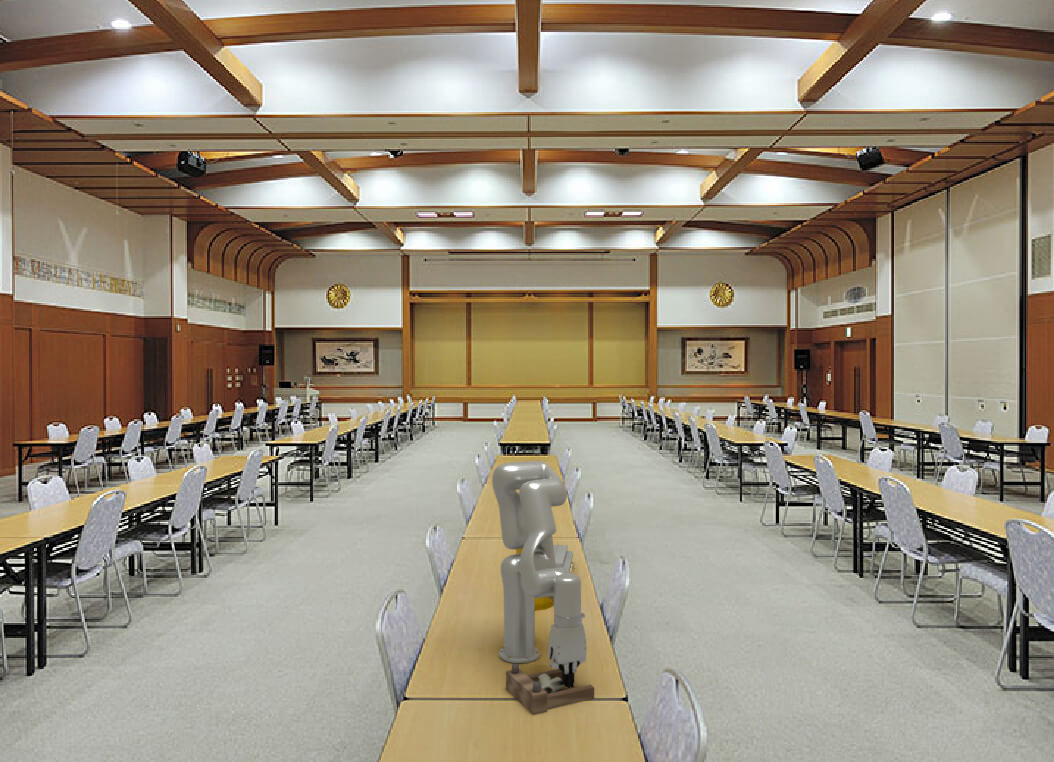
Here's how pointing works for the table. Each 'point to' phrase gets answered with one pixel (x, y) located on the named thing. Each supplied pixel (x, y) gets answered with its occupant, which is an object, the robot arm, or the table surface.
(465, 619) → the table surface
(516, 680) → the bench jig
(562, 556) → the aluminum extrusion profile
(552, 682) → the pipe fitting
